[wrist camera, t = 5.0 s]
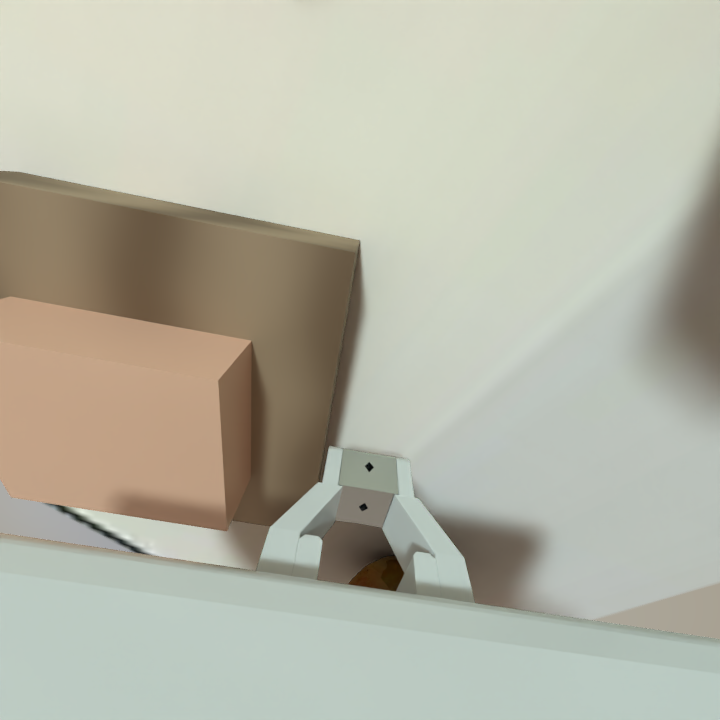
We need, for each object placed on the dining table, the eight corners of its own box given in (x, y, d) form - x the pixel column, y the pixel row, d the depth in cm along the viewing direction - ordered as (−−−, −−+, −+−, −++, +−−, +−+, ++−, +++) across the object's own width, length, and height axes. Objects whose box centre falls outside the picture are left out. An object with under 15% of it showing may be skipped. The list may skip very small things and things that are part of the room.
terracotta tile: (251, 340, 10) (218, 380, 8) (250, 477, 14) (227, 531, 12) (10, 296, 10) (-92, 325, 8) (70, 447, 13) (11, 497, 11)
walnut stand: (360, 240, 11) (355, 252, 9) (317, 490, 18) (308, 532, 16) (18, 171, 10) (-76, 167, 8) (108, 456, 17) (70, 494, 15)
